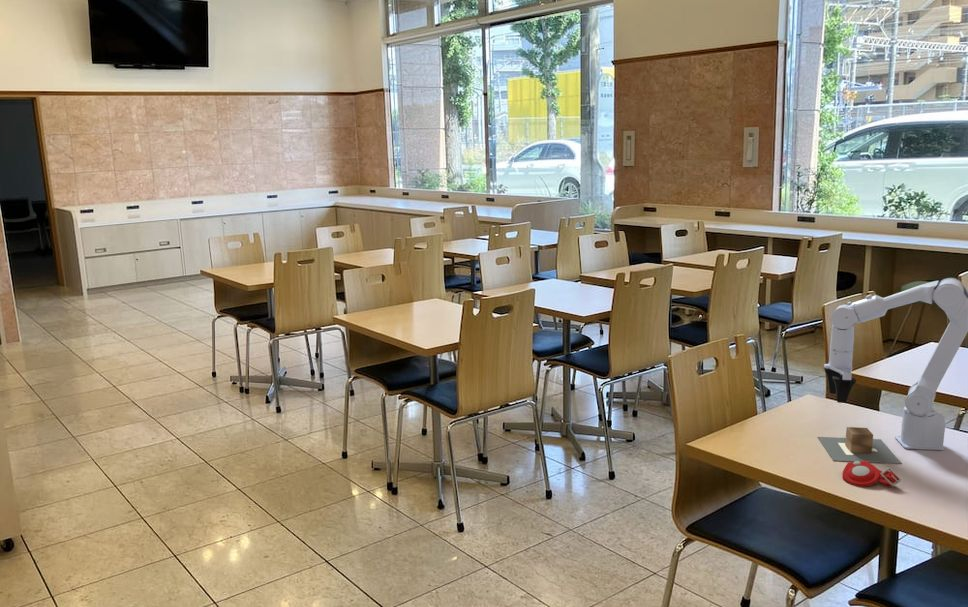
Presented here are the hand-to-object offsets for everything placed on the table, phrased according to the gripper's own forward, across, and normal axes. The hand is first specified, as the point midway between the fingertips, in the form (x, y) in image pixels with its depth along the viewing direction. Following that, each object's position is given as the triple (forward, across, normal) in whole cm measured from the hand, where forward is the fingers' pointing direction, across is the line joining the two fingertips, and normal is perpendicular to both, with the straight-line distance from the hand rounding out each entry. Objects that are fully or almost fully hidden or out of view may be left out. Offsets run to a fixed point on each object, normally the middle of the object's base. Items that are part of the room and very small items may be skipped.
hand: (837, 397), depth 218 cm
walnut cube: (+9, +14, +2) cm, 17 cm away
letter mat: (+9, +14, +2) cm, 17 cm away
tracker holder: (+10, +34, -1) cm, 35 cm away
